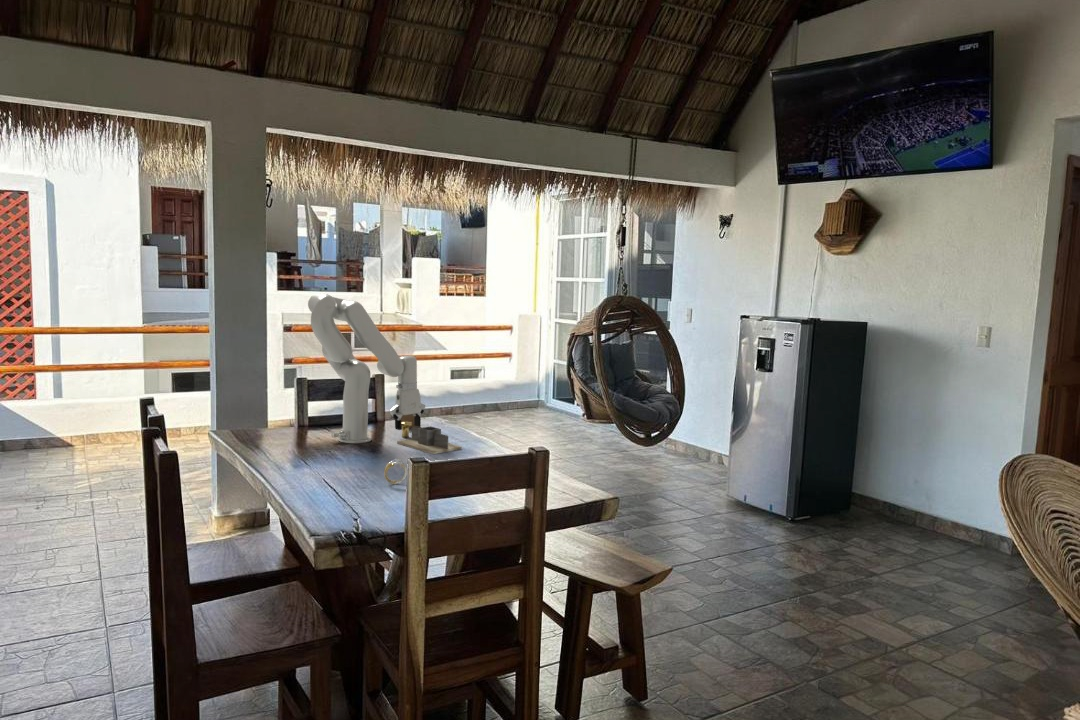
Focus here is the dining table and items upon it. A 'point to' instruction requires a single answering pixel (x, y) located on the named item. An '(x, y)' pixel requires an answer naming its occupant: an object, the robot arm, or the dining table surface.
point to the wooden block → (409, 420)
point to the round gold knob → (405, 428)
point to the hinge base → (429, 441)
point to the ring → (392, 465)
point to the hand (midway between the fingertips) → (407, 427)
